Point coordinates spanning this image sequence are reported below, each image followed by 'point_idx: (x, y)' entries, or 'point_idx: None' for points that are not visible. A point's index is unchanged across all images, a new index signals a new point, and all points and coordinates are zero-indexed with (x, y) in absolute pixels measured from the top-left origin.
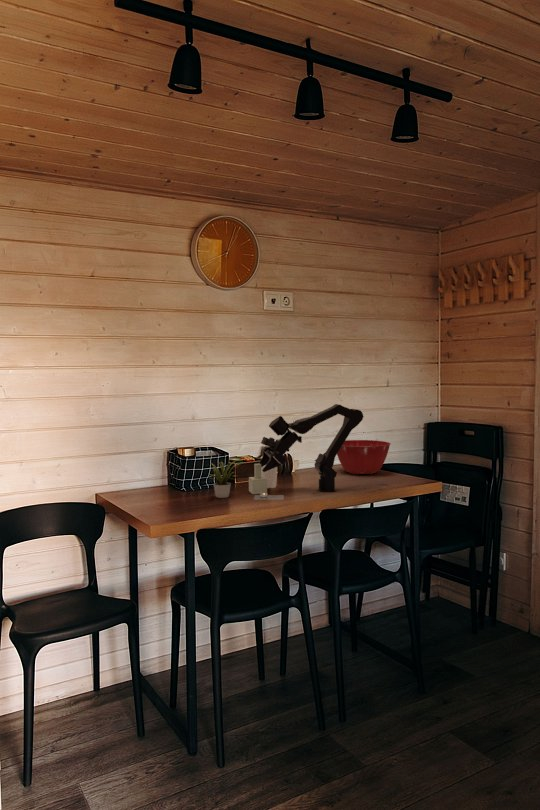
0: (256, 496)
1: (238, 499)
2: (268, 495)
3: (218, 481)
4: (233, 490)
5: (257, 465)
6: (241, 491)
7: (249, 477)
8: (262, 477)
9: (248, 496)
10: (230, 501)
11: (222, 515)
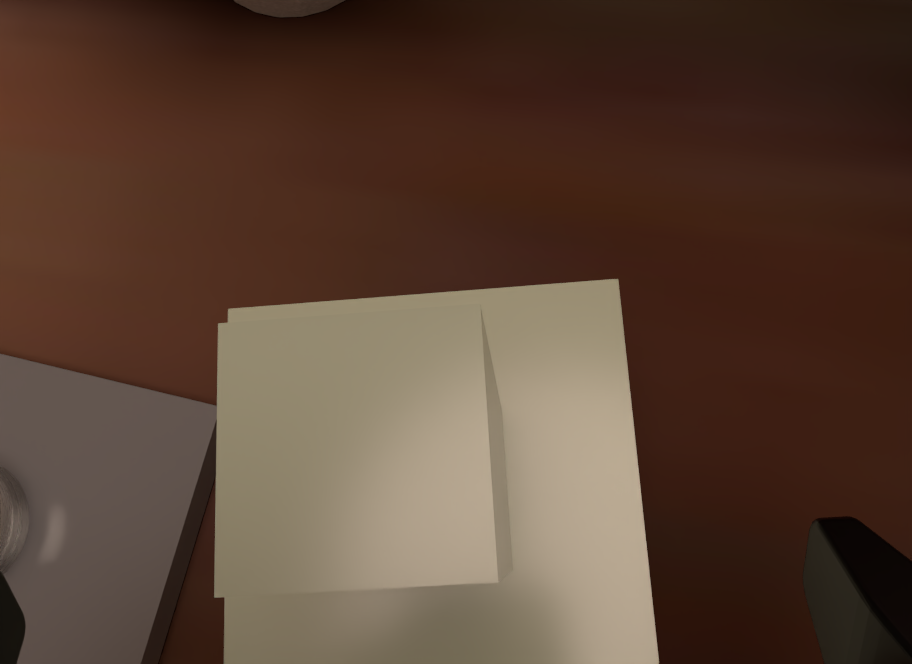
0: (94, 413)
1: (172, 145)
2: (102, 648)
3: None
4: (901, 146)
5: (228, 413)
6: (790, 267)
7: (576, 290)
8: (495, 646)
9: None
10: (81, 26)
11: None
